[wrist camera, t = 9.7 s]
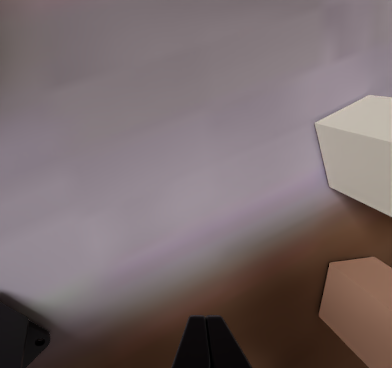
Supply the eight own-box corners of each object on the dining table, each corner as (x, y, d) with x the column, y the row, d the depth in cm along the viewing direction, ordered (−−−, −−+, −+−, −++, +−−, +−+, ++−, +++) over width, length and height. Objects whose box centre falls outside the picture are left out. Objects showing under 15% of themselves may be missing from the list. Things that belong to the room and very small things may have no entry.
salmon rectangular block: (318, 315, 26) (412, 412, 19) (329, 262, 25) (436, 344, 17) (361, 307, 27) (464, 395, 20) (373, 256, 26) (489, 330, 19)
